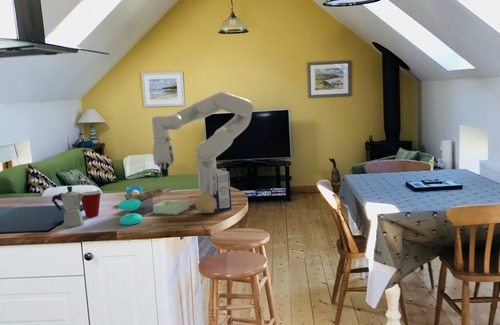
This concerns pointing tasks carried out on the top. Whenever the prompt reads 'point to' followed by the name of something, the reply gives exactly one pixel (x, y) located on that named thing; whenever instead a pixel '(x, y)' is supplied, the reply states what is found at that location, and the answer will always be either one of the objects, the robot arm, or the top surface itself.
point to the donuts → (130, 218)
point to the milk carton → (221, 188)
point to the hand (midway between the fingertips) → (165, 176)
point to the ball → (135, 193)
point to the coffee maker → (70, 207)
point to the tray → (171, 207)
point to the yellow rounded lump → (206, 203)
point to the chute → (147, 194)
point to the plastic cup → (91, 203)
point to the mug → (130, 189)
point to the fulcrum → (145, 206)
